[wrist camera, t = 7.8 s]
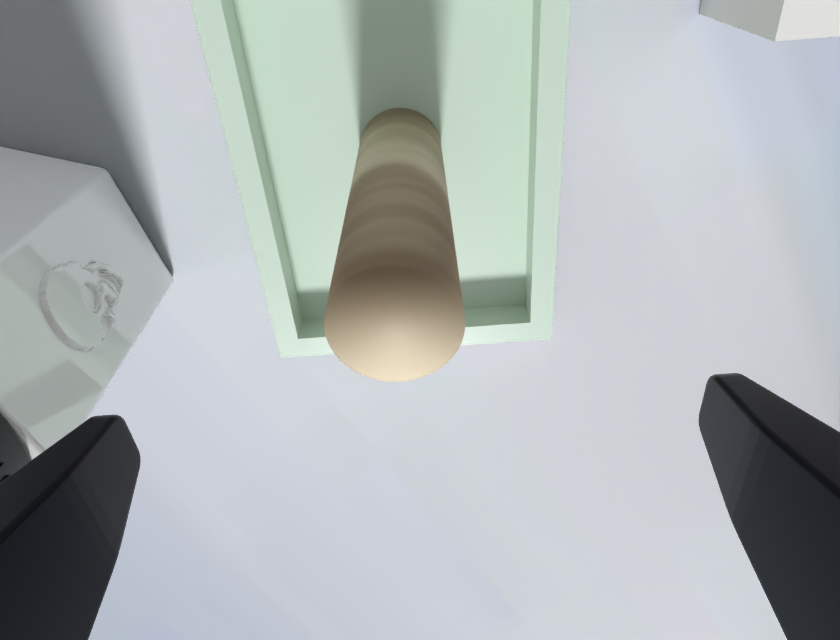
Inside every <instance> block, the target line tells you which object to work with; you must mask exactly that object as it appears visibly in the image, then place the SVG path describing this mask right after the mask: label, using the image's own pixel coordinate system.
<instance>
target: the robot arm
mask: <svg viewBox="0 0 840 640" xmlns="http://www.w3.org/2000/svg"><path fill="white" fill-rule="evenodd" d="M699 426H700V431H701V434H702V437H703V440H704V443H705V446H706V449H707V452H708V455H709V458H710V460H711V463H712V466H713V469H714V472H715V475H716V478H717V481H718V484H719V487H720V490H721V493H722V496H723V499H724V502H725V505H726V507H727V510H728V513H729V515H730V518H731V521H732V523H733V525H734V528H735V530H736V532H737V534H738V536H739V539H740V541H741V543H742V545H743V547H744V549H745V551H746V553H747V556H748V558H749V560H750V562H751V564H752V566H753V568H754V570H755V572H756V575H757V577H758V579H759V581H760V583H761V585H762V587H763V589H764V591H765V594H766V596H767V598H768V600H769V602H770V604H771V606H772V608H773V610H774V613H775V615H776V617H777V619H778V621H779V623H780V625H781V627H782V630H783V632H784V634H785V636H786V638H787V640H840V432H838V431H837V430H835V429H833V428H832V427H830V426H828V425H827V424H825V423H823V422H821V421H820V420H818V419H816V418H815V417H813V416H811V415H810V414H808V413H806V412H805V411H803V410H801V409H800V408H798V407H796V406H794V405H793V404H791V403H789V402H788V401H786V400H784V399H783V398H781V397H779V396H778V395H776V394H774V393H772V392H771V391H769V390H767V389H766V388H764V387H762V386H761V385H759V384H757V383H756V382H754V381H752V380H750V379H749V378H747V377H745V376H744V375H742V374H738V373H729V374H715V375H713V376H711V377H710V378H709V379H708V381H707V384H706V388H705V392H704V397H703V401H702V405H701V409H700V413H699ZM139 469H140V453H139V450H138V448H137V446H136V444H135V441H134V439H133V437H132V435H131V433H130V431H129V429H128V427H127V424H126V422H125V421H124V419H123V418H122V417H121V416H119V415H103V416H94V417H91V418H89V419H88V420H86V421H85V422H84V423H82V424H81V425H79V426H78V427H77V428H75V429H74V430H72V431H71V432H70V433H68V434H67V435H66V436H64V437H63V438H61V439H60V440H59V441H57V442H56V443H55V444H53V445H52V446H50V447H49V448H48V449H46V450H45V451H43V452H42V453H41V454H39V455H38V456H37V457H35V458H34V459H32V460H31V461H30V462H28V463H27V464H26V465H24V466H23V467H21V468H20V469H19V470H17V471H16V472H14V473H13V474H12V475H10V476H9V477H8V478H6V479H5V480H3V481H2V482H1V483H0V640H88V638H89V636H90V633H91V630H92V627H93V625H94V622H95V619H96V616H97V613H98V611H99V608H100V605H101V602H102V600H103V597H104V594H105V591H106V589H107V586H108V583H109V580H110V578H111V575H112V572H113V569H114V566H115V563H116V560H117V557H118V554H119V550H120V546H121V543H122V539H123V535H124V530H125V526H126V522H127V518H128V514H129V510H130V506H131V502H132V497H133V493H134V489H135V485H136V481H137V477H138V473H139Z"/></svg>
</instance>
